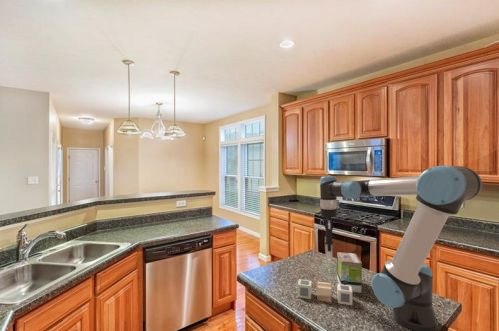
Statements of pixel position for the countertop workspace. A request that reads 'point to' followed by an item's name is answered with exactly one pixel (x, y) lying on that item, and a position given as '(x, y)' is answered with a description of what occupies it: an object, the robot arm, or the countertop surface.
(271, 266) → the countertop surface
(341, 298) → the labelled block
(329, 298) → the plain block
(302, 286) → the labelled block
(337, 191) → the robot arm
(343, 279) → the tea box
